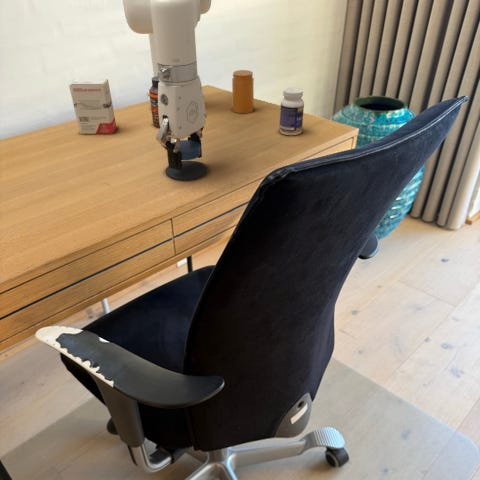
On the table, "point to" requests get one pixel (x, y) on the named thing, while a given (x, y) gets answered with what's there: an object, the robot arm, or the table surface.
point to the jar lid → (189, 149)
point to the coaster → (187, 171)
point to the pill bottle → (291, 111)
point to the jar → (243, 91)
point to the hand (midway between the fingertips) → (185, 161)
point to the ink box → (93, 106)
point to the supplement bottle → (154, 100)
